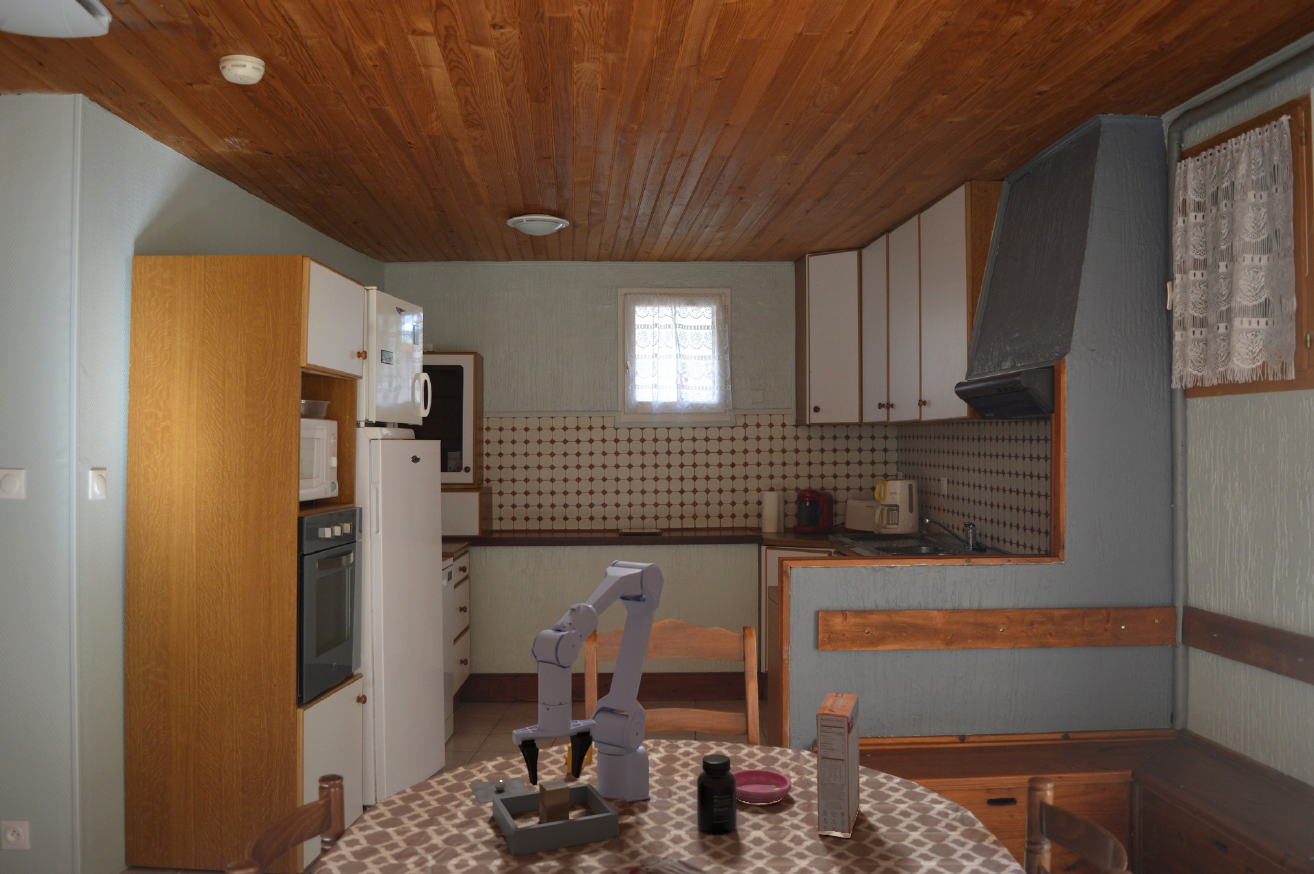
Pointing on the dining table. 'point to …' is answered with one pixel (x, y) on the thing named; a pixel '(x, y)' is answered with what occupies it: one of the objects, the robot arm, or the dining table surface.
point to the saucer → (760, 785)
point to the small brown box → (553, 801)
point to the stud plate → (491, 790)
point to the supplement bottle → (716, 796)
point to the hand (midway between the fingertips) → (554, 779)
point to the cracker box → (838, 762)
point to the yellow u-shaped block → (586, 760)
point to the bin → (555, 832)
